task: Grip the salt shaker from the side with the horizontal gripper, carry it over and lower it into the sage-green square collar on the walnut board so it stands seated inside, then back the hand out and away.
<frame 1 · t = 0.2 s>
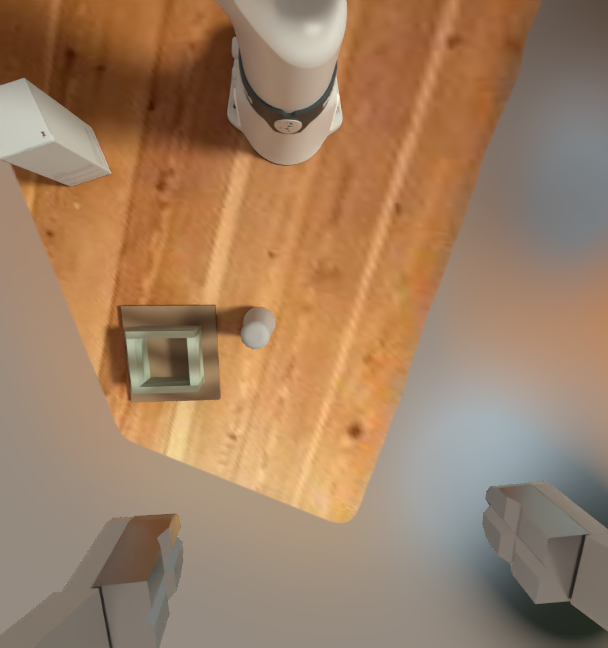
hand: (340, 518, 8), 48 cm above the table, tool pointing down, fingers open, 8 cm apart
salt shaker: (260, 320, 55), on the table
supplement box: (81, 158, 47), on the table
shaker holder: (174, 353, 54), on the table
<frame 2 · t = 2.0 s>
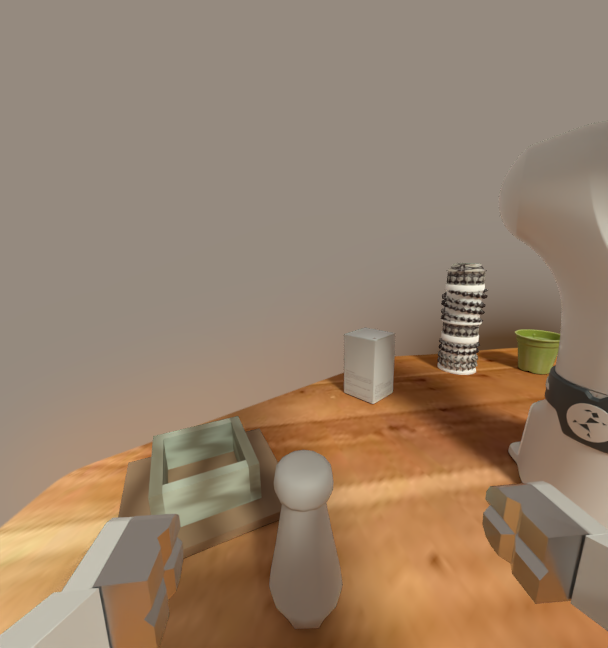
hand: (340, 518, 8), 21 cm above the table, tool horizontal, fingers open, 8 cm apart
salt shaker: (306, 601, 24), on the table
supplement box: (368, 393, 60), on the table
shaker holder: (206, 488, 36), on the table
plant pot: (533, 370, 69), on the table
decorative candle: (456, 368, 71), on the table
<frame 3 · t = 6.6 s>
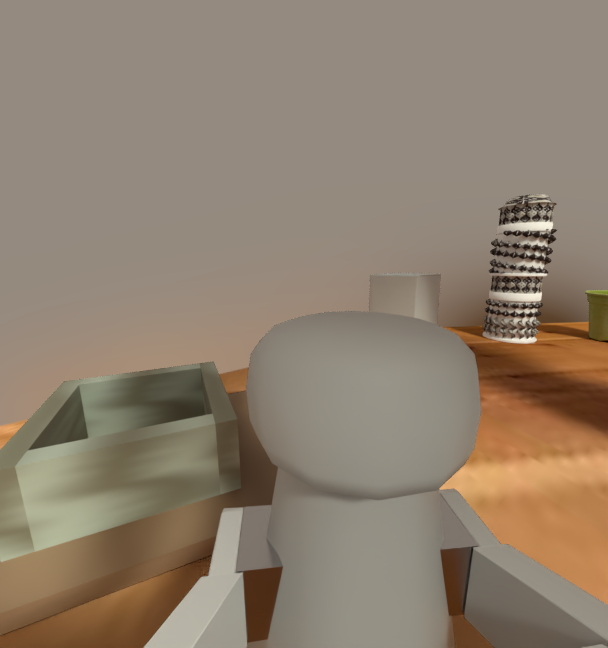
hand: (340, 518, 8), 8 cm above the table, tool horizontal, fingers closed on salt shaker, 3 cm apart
supplement box: (400, 359, 44), on the table
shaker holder: (148, 471, 20), on the table
decorative candle: (508, 338, 56), on the table
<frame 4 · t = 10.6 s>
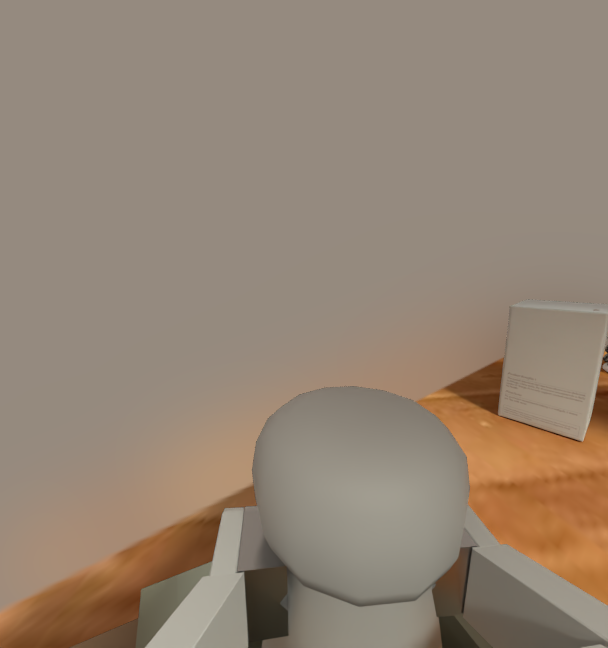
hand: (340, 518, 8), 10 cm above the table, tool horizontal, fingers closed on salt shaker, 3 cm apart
supplement box: (542, 417, 33), on the table
when the fingers open (10 cm above the table, at t = 10.9 s): salt shaker stays where it is, resting on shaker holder.
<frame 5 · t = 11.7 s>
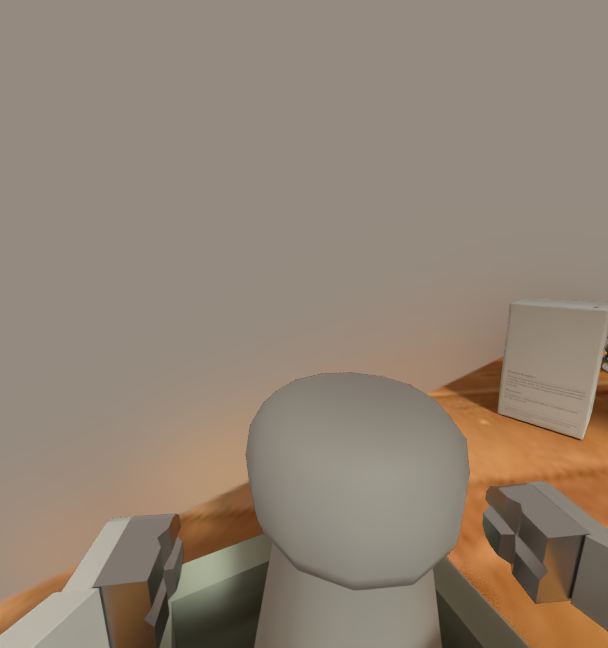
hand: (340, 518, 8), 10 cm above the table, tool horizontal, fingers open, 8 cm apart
supplement box: (542, 416, 33), on the table
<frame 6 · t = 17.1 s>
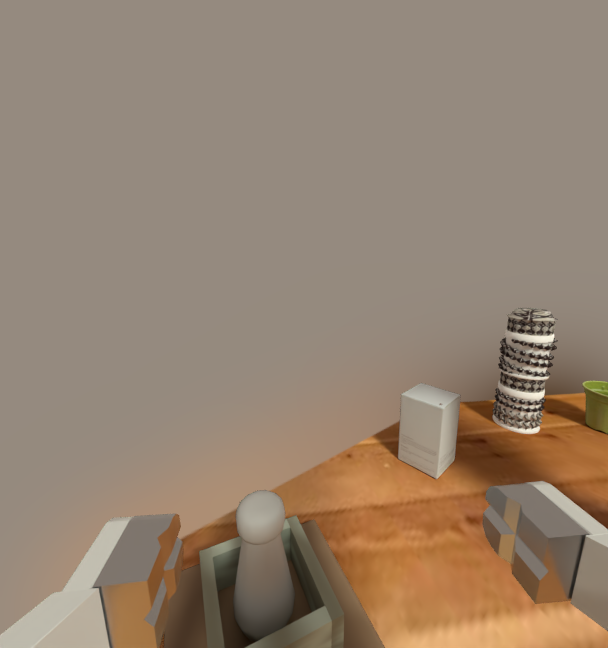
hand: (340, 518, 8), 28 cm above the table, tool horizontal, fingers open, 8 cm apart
salt shaker: (265, 618, 28), point 1 cm above the table, touching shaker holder
supplement box: (425, 460, 52), on the table
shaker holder: (266, 624, 29), on the table
plant pot: (605, 429, 61), on the table
decorative candle: (515, 423, 64), on the table
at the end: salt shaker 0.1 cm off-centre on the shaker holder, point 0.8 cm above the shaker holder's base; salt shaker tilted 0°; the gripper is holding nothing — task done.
